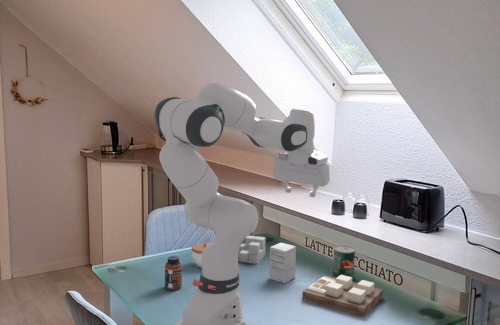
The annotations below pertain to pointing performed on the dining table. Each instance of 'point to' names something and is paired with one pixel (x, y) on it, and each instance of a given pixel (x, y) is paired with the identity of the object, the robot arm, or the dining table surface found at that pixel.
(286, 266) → the supplement box
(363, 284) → the button far right
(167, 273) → the supplement bottle
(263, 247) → the puzzle cube
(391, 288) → the dining table surface
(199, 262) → the lidded jar
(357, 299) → the button near right
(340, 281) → the button far left
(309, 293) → the button board
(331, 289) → the button near left
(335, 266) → the canned tomato
